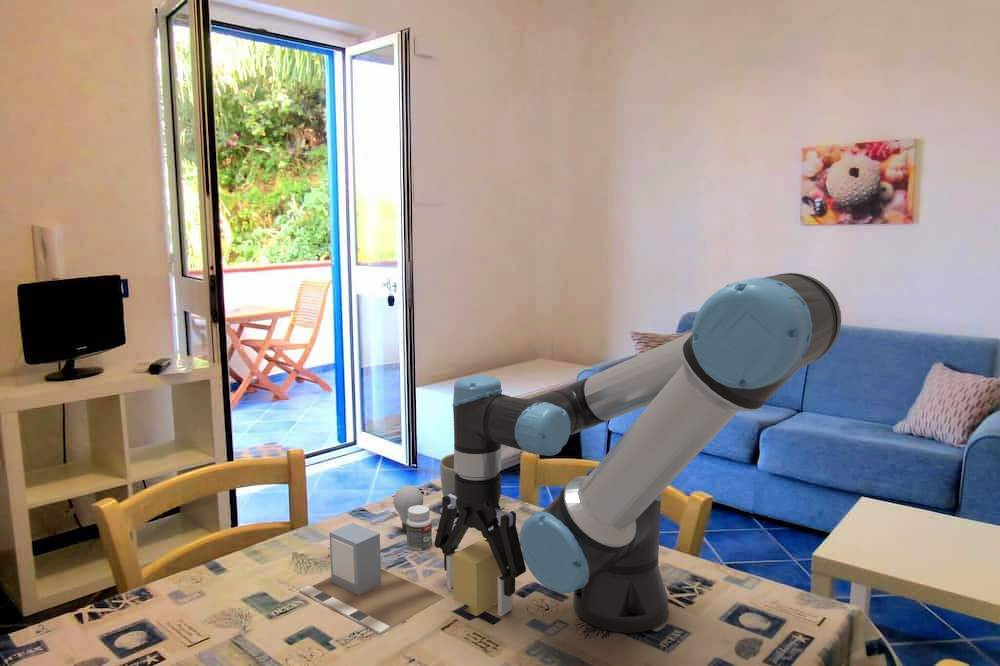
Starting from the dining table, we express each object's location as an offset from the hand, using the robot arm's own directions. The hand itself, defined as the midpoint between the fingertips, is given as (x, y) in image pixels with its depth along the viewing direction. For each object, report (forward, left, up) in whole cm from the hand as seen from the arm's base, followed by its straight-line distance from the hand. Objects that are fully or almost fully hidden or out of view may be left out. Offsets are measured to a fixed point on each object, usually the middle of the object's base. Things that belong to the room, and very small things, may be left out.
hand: (478, 600), depth 122 cm
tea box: (0, 0, 0) cm, 0 cm away
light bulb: (+28, -11, 0) cm, 30 cm away
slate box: (+19, +10, +1) cm, 21 cm away
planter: (+27, -28, 0) cm, 39 cm away
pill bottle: (+21, -7, 0) cm, 22 cm away
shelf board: (+14, +11, 0) cm, 18 cm away
